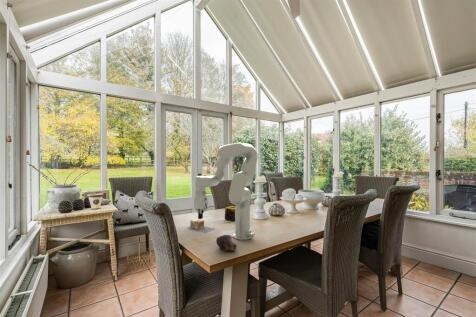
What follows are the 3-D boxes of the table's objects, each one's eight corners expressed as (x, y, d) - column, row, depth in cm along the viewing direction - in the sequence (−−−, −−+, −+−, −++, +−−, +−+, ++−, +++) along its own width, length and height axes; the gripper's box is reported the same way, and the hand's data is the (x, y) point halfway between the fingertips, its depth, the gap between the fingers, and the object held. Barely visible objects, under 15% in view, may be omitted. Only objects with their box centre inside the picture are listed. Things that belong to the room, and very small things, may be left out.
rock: (228, 247, 130) (212, 250, 124) (228, 232, 131) (212, 234, 126) (239, 251, 120) (222, 254, 115) (238, 234, 121) (221, 237, 116)
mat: (215, 229, 158) (215, 228, 158) (206, 233, 150) (206, 232, 150) (196, 224, 169) (196, 224, 169) (186, 228, 161) (186, 227, 161)
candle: (233, 221, 178) (233, 209, 178) (224, 219, 185) (224, 207, 185) (241, 219, 187) (241, 207, 187) (232, 217, 193) (232, 205, 193)
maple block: (204, 220, 161) (195, 218, 167) (199, 222, 157) (190, 220, 162) (204, 227, 161) (195, 225, 166) (199, 229, 157) (190, 227, 162)
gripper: (211, 193, 159) (211, 219, 159) (197, 191, 167) (196, 216, 167) (204, 194, 153) (204, 221, 153) (189, 192, 161) (189, 218, 161)
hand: (200, 218), depth 160 cm, fingers closed
